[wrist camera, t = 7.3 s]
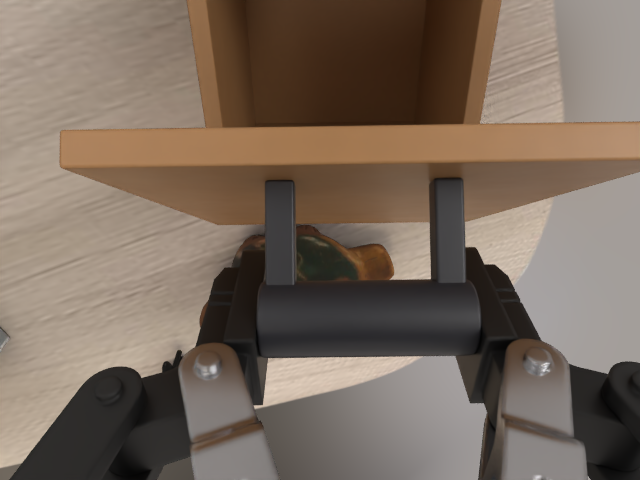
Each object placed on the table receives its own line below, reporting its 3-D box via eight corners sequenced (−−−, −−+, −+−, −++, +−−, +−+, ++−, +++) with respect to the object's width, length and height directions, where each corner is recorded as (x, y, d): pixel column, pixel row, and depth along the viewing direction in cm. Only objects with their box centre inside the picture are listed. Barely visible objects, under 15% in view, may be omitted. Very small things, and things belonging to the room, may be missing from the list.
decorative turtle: (189, 239, 39) (167, 296, 32) (365, 180, 38) (381, 227, 31) (237, 325, 44) (227, 392, 37) (395, 276, 42) (416, 336, 35)
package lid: (58, 128, 10) (54, 379, 9) (684, 119, 10) (697, 371, 9) (216, 209, 24) (217, 309, 24) (467, 205, 24) (470, 305, 24)
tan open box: (223, -103, 27) (167, -121, 17) (448, -107, 27) (524, -127, 17) (247, 130, 34) (218, 212, 24) (422, 127, 34) (465, 209, 24)
